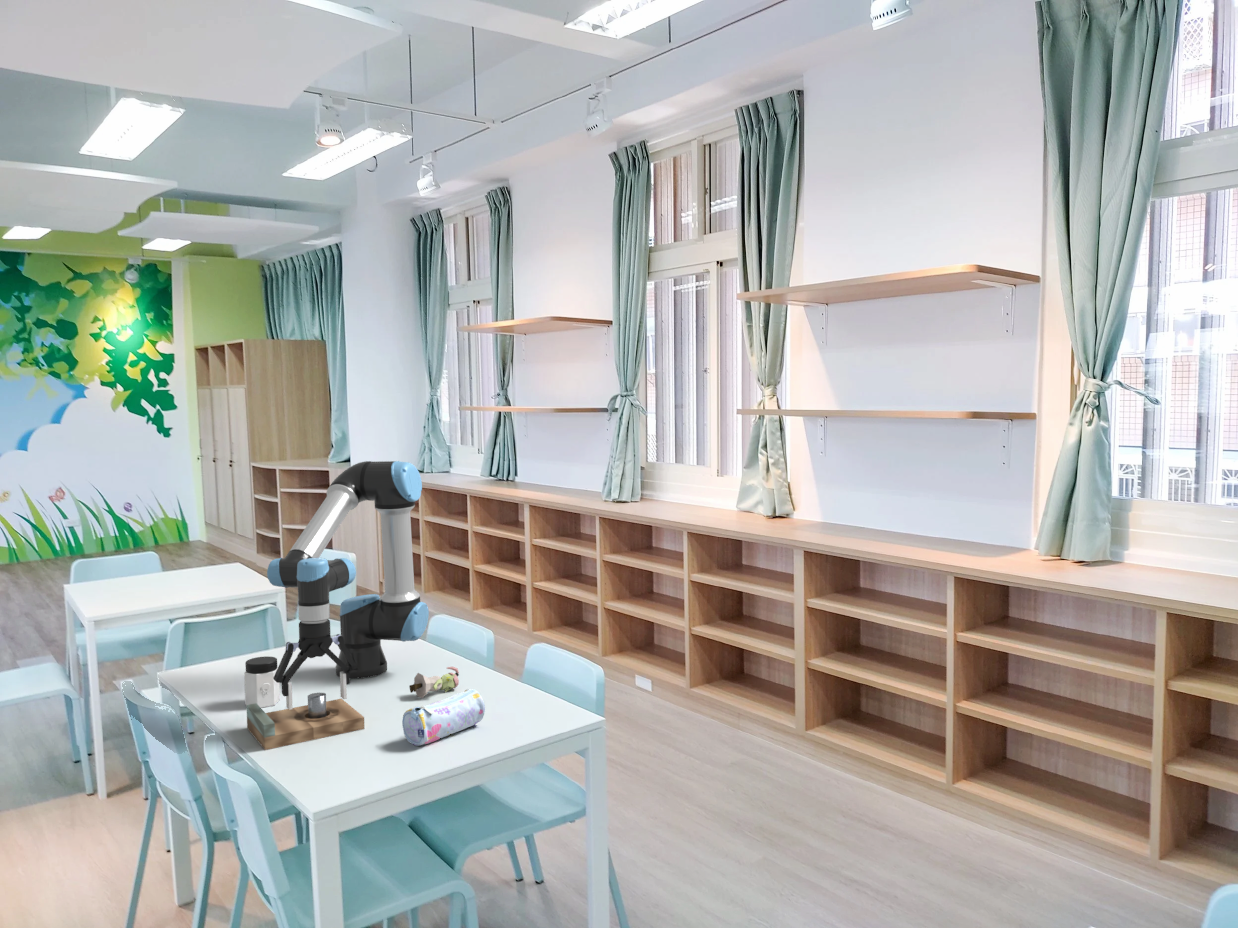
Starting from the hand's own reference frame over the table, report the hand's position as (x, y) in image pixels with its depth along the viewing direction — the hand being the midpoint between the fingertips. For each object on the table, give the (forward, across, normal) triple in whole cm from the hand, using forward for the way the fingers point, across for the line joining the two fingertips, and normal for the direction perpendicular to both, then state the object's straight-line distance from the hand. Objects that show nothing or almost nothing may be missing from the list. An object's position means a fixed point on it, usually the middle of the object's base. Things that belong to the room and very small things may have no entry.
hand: (317, 702), depth 231 cm
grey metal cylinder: (+6, 0, 0) cm, 6 cm away
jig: (+6, +3, 0) cm, 7 cm away
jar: (+6, +7, -27) cm, 29 cm away
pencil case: (+6, -24, +24) cm, 35 cm away
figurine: (+6, -35, -6) cm, 36 cm away
